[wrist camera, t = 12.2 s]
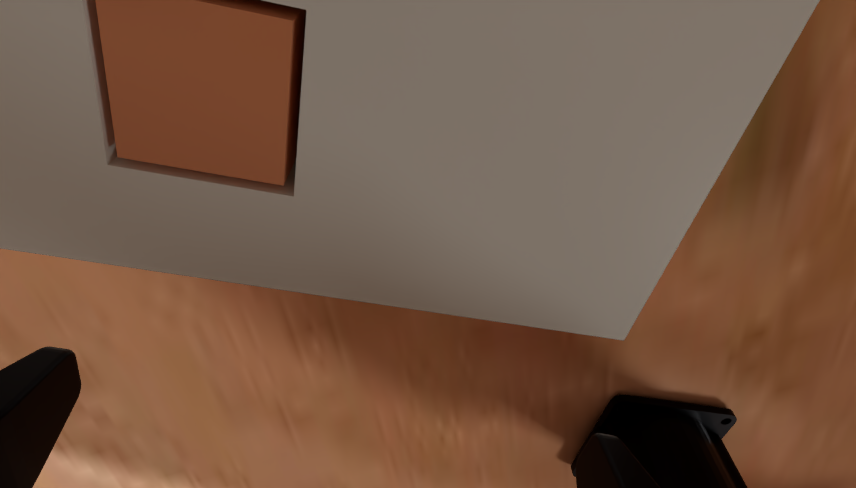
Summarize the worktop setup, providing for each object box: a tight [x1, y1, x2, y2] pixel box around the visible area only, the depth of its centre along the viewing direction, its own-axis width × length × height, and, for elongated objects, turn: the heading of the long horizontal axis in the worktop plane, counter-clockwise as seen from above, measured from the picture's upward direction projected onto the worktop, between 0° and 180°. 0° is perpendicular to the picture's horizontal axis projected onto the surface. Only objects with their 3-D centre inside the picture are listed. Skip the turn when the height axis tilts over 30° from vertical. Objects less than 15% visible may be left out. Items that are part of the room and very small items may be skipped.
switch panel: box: [0, 0, 819, 340], centre depth 15 cm, size 20×12×4 cm, turn 78°
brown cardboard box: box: [95, 0, 306, 186], centre depth 15 cm, size 4×4×4 cm
